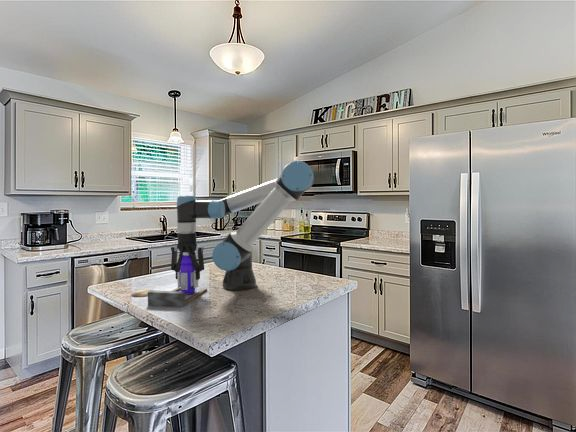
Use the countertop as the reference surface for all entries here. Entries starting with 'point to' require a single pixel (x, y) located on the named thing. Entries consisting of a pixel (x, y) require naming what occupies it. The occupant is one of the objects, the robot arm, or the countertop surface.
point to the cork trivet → (140, 293)
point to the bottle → (187, 274)
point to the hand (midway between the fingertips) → (188, 287)
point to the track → (171, 298)
